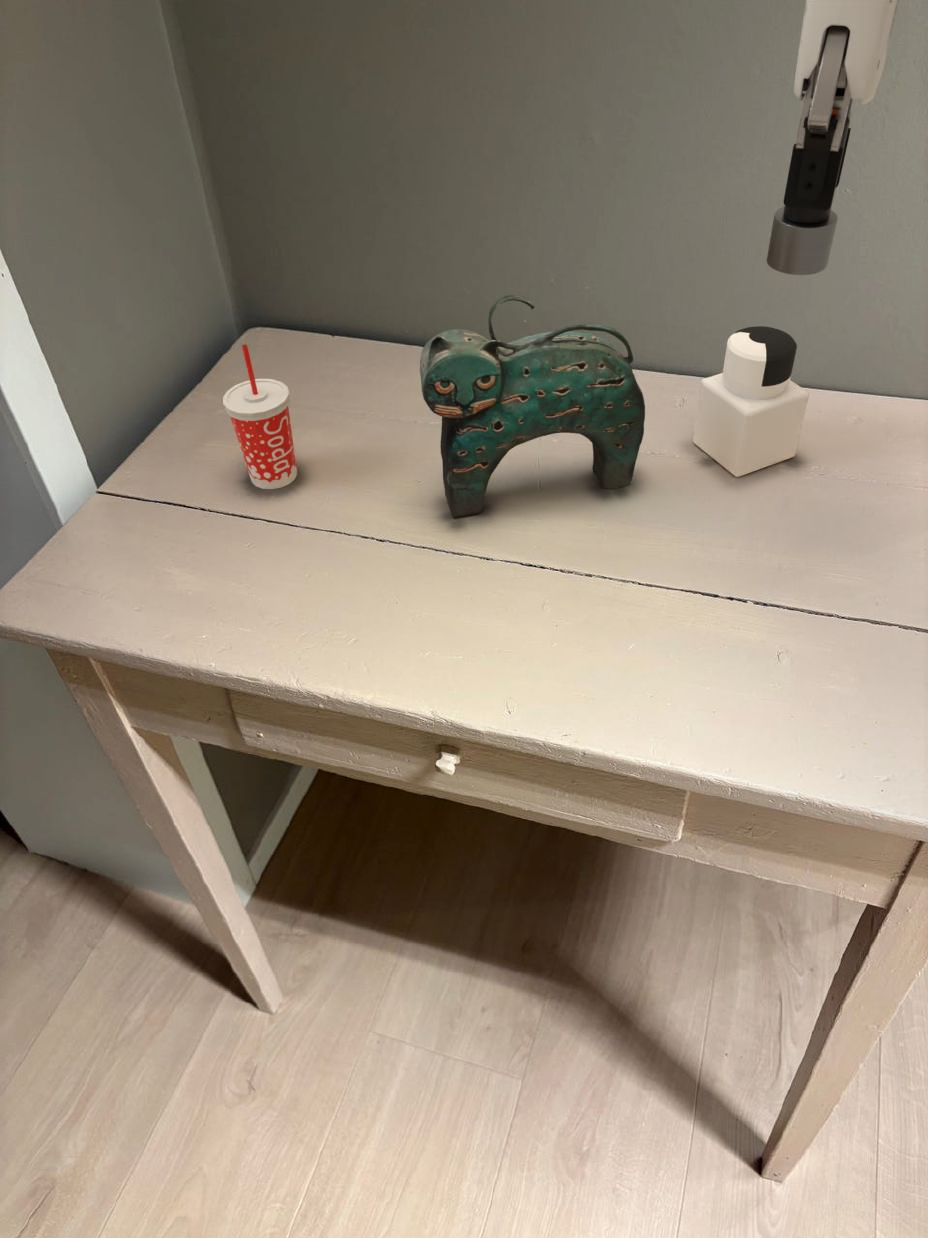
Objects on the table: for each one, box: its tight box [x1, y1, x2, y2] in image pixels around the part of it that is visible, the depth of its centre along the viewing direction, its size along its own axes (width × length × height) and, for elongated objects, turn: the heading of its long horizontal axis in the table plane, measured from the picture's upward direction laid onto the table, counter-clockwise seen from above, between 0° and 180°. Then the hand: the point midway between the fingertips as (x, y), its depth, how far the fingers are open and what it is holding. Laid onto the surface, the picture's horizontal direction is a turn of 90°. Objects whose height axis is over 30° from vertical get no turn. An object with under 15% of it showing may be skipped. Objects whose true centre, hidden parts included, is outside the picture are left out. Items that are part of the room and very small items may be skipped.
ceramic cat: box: [419, 294, 646, 519], centre depth 84 cm, size 20×6×20 cm, turn 102°
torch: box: [766, 109, 851, 276], centre depth 68 cm, size 4×4×10 cm
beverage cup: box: [222, 344, 298, 490], centre depth 90 cm, size 6×6×14 cm
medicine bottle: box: [692, 325, 810, 478], centre depth 89 cm, size 7×7×12 cm
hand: (811, 193), depth 68 cm, fingers closed on torch, 3 cm apart
